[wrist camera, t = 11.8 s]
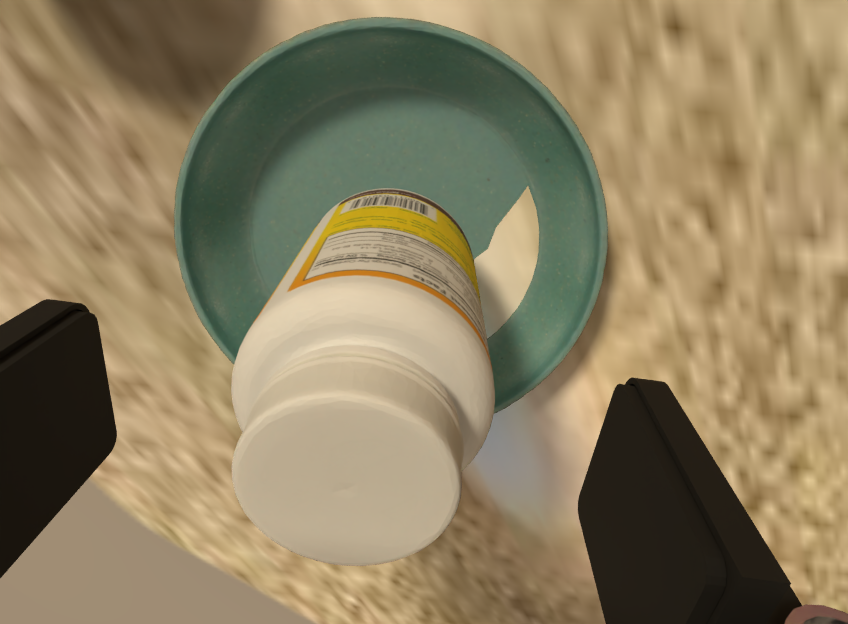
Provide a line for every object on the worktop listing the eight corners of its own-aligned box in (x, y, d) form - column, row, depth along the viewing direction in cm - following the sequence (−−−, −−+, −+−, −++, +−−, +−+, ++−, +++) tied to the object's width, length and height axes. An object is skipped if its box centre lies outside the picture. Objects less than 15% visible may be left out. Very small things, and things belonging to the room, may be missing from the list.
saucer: (280, 424, 25) (262, 463, 22) (139, 85, 19) (94, 88, 16) (607, 368, 23) (626, 404, 20) (564, -32, 17) (582, -48, 14)
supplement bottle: (374, 360, 20) (318, 631, 11) (276, 242, 18) (106, 452, 9) (505, 286, 18) (568, 529, 9) (414, 147, 16) (381, 284, 7)
